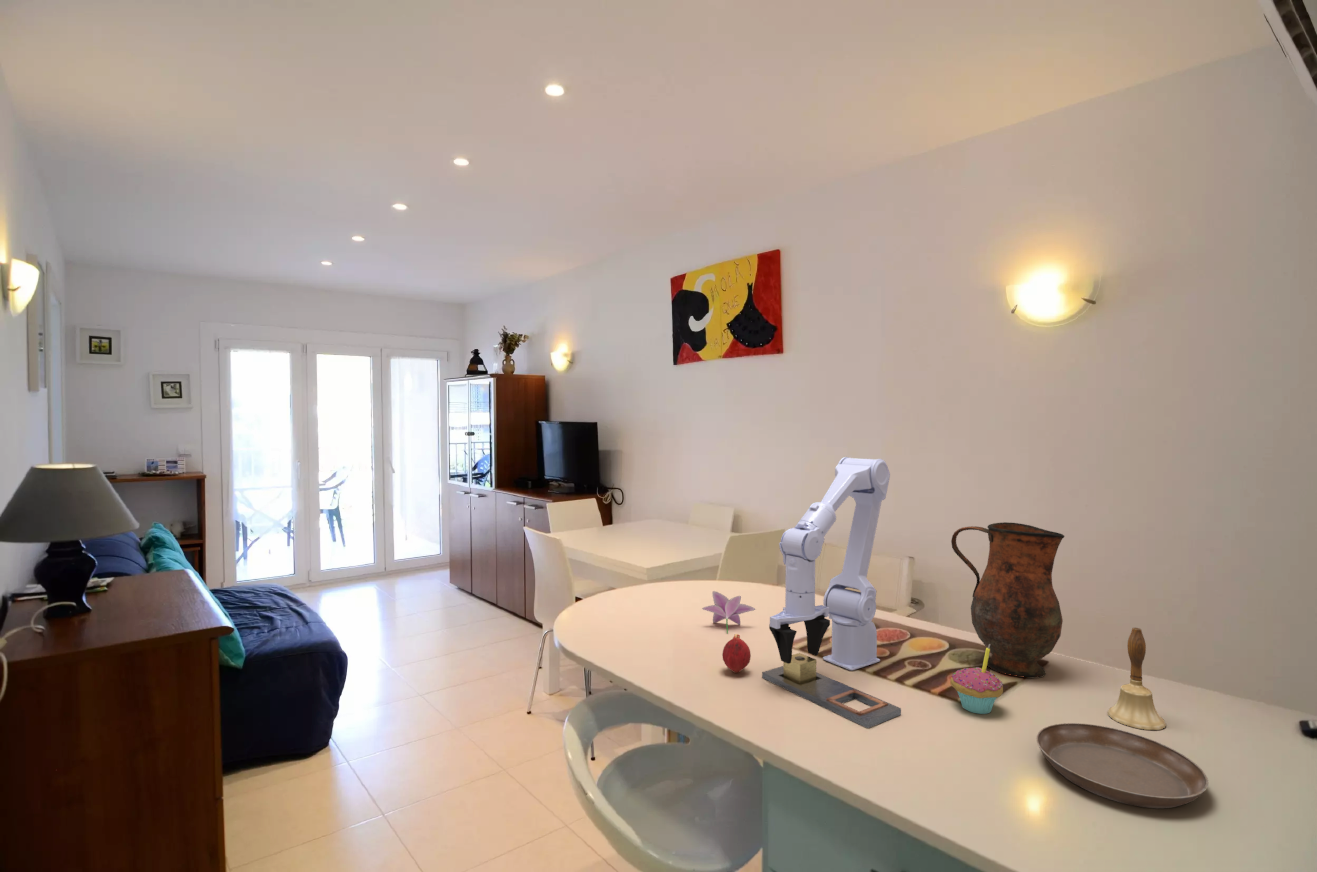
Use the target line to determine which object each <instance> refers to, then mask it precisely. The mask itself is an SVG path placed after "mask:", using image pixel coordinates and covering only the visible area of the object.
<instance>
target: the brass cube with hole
mask: <svg viewBox="0 0 1317 872" xmlns="http://www.w3.org/2000/svg"><path fill="white" fill-rule="evenodd" d="M783 666H784V676H783V678H785V679H787V680H789V681H792V682H794V683H796V684H798V685H803V684H806V683H809V682H812V681H816V672H817V659H816V658H813V657H810V656H809V655H806V654H803V653H801V652H798V653H795V654H792V659H791V663H789V664H788V663H785V662H783Z"/></svg>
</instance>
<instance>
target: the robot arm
mask: <svg viewBox="0 0 1317 872" xmlns="http://www.w3.org/2000/svg"><path fill="white" fill-rule="evenodd" d="M888 466H889V465H888V464H887V462H886V461H885V460H884V459H883V458H876V459H875V458H855V457H849V456H844V457H842V458H841V459H840V460H838V463H837V465H836V466H835V468H834V479H833V481H832V483H831V484H830V486H829V487H828V489H827V491H826V493H825V494H824V495H823V497H822V498H821V501H816V502H813V503H811V504H810V506H809V507H808V509H807V510H806V511H805V513H804V514H803V515H802V517H800V519H799V521H798V522H797V523H796V525H795V526H794V527H791V528H788V529H787V530H786V531H784V532H783V533H782V536H781V538H780V542H778V545H779V550H780V552H781V554H782V562H783V564H784V565H785V600H784V601H785V606H784V607H782V611H780V612H778V613H776V614H774V615H770V616H769V625H768V628H769V631H770V632H771V634H772V636H773V638H774V640H775V643H776V645H777V649H778V653H779V659H780V661H781V662H783V663H784V662H785V663H788V664H789V663H791V659H792V655H793V646H794V645H793V644H794V641H795V637H796V634H797V632H798V631H797V630H796V629H792V628H791V626H790V625H793V624H797V623H802V622H803V623H804V627H805V632H806V647H807V652H808V654H811V655H812V656H818V655H819V652H820V649H821V645H822V641H823V639H824V636H825V634H826V632H827V630H828V628H829V627H830V625H831V654H828V655H826V656H825V655H824V656H823V657H822V659H823V660H824V661H826V662H828V663H831V664H833V665H836V666H839V667H840V668H841V667H842V668H844V669H846V670H847V671H848V670H849V671H855V670H858V669H861V668H864V667H867V666H869V665H873V664H876V663H879V662H881V659H880V658H878V657H877V655H878V654H877V653H878V650H877V649H878V646H877V643H878V635H877V634H878V633H877V632H878V631H877V628H876V625H875V623H874V622H873V621H872V620H873V619H874V617H875V615H876V612H877V602H876V599H877V598H876V597H877V590H876V588H875V587H874V585H873V584H872V583H871V581H870V580H869V579H868V578H867V577H868V572H869V567H870V561H871V557H872V552H873V547H874V541H875V537H876V534H877V533H876V532H877V527H878V522H879V517H880V512H881V506H882V503H883V502H882V501H884V500H886V498H887V493H888V488H889V483H890V478H891V473H890V470H889V467H888ZM849 497H851V498H853V499H854V501H855V507H854V512H853V517H852V521H851V522H852V523H851V525H850V531H849V537H848V542H847V546H846V550H845V556H844V560H843V565H842V569H841V572H840V573H839V574H837V575H835V576H834V577H832V578H830V581H829V584H828V587H827V590H826V591H825V592H824V596H823V599H822V602H823V604H821V605H820V604H819V605H816V560H817V559H818V557H821V556H820V555H821V553H822V548H823V544H824V542H825V537H826V535H827V534H828V532H829V531H830V529H831V528H832V526H833V525H834V524H835V523H836V520H837V514H836V511H837V510H838V509H839V508H840V507H841V505H842V504H843V503H844V502H845V501H846V500H847V499H848V498H849ZM852 589H853V590H852ZM856 590H858V591H856Z"/></svg>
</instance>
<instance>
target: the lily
mask: <svg viewBox="0 0 1317 872" xmlns="http://www.w3.org/2000/svg"><path fill="white" fill-rule="evenodd" d="M711 595H712V601H713V604H714V605H713V604H712V605H711V604H710V605H707V606H704V607H702V608H701V610H703V611H705V612H706V611H707V612H710V613H713V616H712V623H713V624H714V623H715V624H716V623H718V622H721V621H723V620H726V623H725V625H726V626H725V627H726V634H729V629H728V628H729V627H728V620H729V621H732V623H735V624H737V625H738V626H740V625H741V616H740V615H741V614H745V613H749V612H753V611H755V610H756V608H755V607H753V606H752V605H748V604H745V603H741V598H742V595H737V596H734V597H732V598H730V599H729V598H728V597H727V596H725V595H724V594H722V593H720V592H718V591H715V590H713V591H712V593H711Z"/></svg>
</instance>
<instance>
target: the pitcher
mask: <svg viewBox="0 0 1317 872" xmlns="http://www.w3.org/2000/svg"><path fill="white" fill-rule="evenodd" d="M972 530H973V531H979V532H983V533H985V534H987V537H988V541H989V547H988V548H989V552H988V557H987V564H986V567H985V569H984V572H982V573H983V574H982V576H981V577H980V573H979V571H978V569H977V567H976V566H975V565H974V564H973V563H972V562H971V561H970V560H969V559H968V558H967V557H966V556H965V555H964V554H963V552H961V550H960V549H959V547H958V545H957V537H958V535H959V534H960V533H962V532H963V531H972ZM1064 538H1065V535H1064V534H1063V533H1060V532H1057V531H1051V530H1047V529H1043V528H1040V527H1037V526H1034V525H1031V524H1026V523H1020V522H1019V523H1018V522H1004V521H1003V522H994V523H990V524H988V525H987V528H986V527H982V526H973V525H972V526H964V527H961V528H959V529H956V531H954V532H953V534H952V537H951V541H950V542H951V547H952V550H953V552H954V553H955V554H956V555H957V556H958V557H959V559H960V560H961V561H962V562H964V564H965V565H966V566H967V567H968V568H969V569H970V570H971V571H972V573H973V574H974V575H975V577H976V584H975V587H974V590H973V592H972V602H971V604H970V615H971V616H970V617H971V624H972V626H973V628H974V630H975V633H976V635H977V637H978V639H979V640H980V641H981V642H982V643H983V644H984V646H985V647H986V648H988V646H989V644H990V647H989V649H990V652H989V653H991V657H990V656H989V658H988V663H987V666H988V667H987V668H989V667H990V668H991V669H990V668H989V669H990V670H992V669H993V670H992V671H994V670H995V672H997V671H998V672H997V673H999V672H1001V673H1000V674H1002V673H1006V674H1011V675H1017V676H1024V677H1039V678H1043V677H1044V676H1045V675H1046V670H1045V668H1044V667H1043V666H1042V665H1040V664H1039V663H1038V661H1040V660H1042V659H1043V658H1045V657H1046V656H1047V655H1049V654H1050V653H1051V652H1052V651H1053V650H1054V648H1055V646H1056V645H1057V643H1058V641H1059V639H1060V637H1061V635H1062V627H1063V622H1064V621H1063V620H1064V619H1063V615H1062V610H1061V607H1060V606H1061V605H1060V602H1059V599H1058V596H1057V594H1056V591H1055V590H1054V586H1053V576H1052V575H1053V568H1054V564H1055V558H1056V556H1057V551H1058V549H1059V546H1060V545H1061V542H1062V540H1063V539H1064ZM1006 674H1005V675H1006ZM1042 676H1043V677H1042Z"/></svg>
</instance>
